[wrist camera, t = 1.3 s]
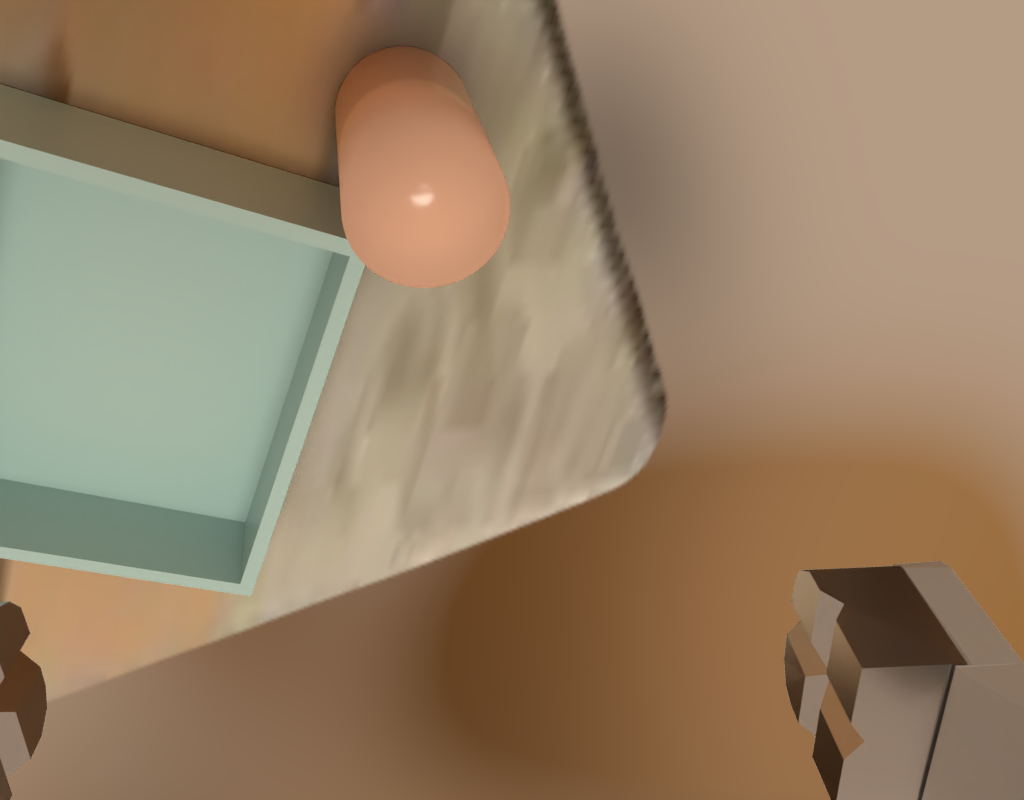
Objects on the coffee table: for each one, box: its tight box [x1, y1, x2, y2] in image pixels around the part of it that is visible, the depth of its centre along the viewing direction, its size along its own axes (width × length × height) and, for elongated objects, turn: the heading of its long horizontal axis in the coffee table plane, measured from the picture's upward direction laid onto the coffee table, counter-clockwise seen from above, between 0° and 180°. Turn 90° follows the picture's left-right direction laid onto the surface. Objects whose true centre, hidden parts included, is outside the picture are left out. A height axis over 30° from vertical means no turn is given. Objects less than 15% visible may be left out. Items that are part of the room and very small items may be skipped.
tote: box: [0, 84, 365, 596], centre depth 37 cm, size 17×13×5 cm
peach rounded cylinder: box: [335, 46, 510, 288], centre depth 32 cm, size 5×5×9 cm
